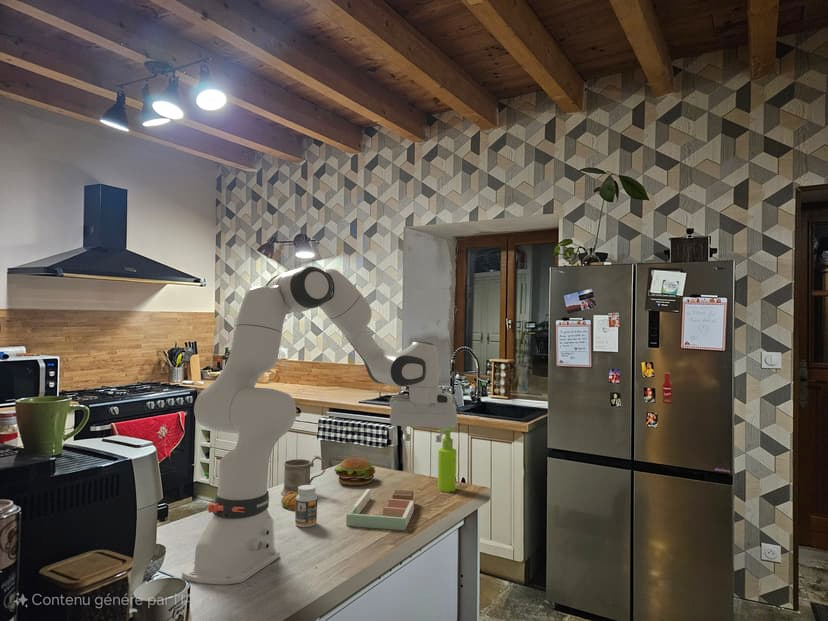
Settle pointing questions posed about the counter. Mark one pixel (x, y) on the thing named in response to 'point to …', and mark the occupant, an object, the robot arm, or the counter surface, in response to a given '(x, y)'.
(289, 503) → the pastry
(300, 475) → the mug
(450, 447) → the soap dispenser
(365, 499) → the box
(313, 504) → the pill bottle
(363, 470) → the food
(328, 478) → the counter surface
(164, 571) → the counter surface
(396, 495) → the block
